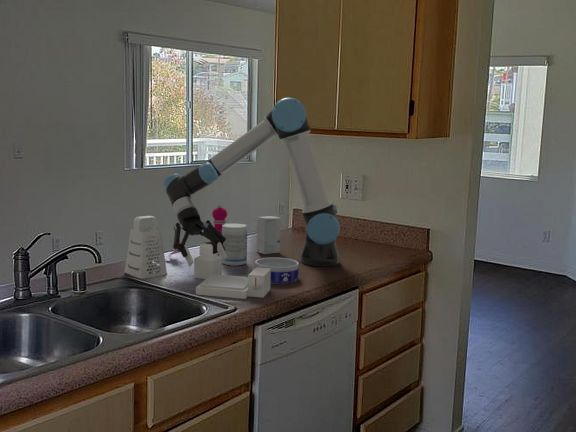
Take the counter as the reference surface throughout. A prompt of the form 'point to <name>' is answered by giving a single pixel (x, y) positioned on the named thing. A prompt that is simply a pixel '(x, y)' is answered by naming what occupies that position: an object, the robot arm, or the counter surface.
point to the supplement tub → (235, 244)
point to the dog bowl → (280, 269)
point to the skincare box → (268, 234)
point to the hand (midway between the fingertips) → (208, 261)
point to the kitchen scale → (237, 285)
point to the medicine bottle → (207, 261)
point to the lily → (175, 249)
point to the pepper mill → (219, 218)
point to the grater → (145, 250)
